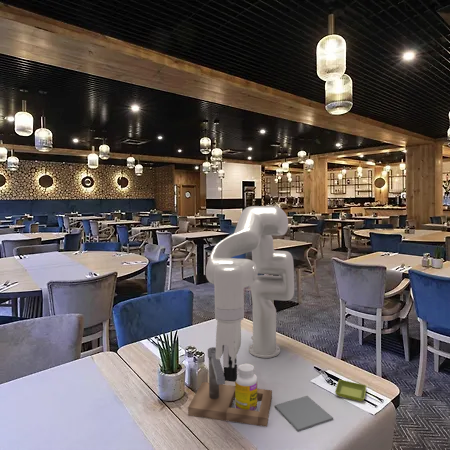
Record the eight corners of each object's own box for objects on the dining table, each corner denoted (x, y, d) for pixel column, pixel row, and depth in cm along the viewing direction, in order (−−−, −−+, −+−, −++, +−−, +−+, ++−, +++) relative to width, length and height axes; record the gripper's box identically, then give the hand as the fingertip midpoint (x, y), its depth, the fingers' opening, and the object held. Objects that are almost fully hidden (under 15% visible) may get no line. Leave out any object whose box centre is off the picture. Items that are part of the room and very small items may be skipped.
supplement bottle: (251, 418, 99) (250, 375, 98) (231, 410, 102) (230, 369, 101) (261, 405, 104) (261, 365, 103) (242, 399, 108) (241, 359, 107)
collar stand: (188, 415, 100) (187, 365, 99) (202, 389, 114) (201, 345, 113) (266, 426, 95) (266, 374, 94) (272, 397, 108) (272, 352, 107)
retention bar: (207, 354, 106) (207, 347, 106) (218, 353, 107) (218, 346, 106) (214, 385, 88) (214, 377, 88) (227, 383, 89) (227, 376, 89)
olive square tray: (338, 384, 116) (338, 379, 116) (366, 391, 112) (366, 385, 112) (334, 398, 108) (334, 392, 108) (364, 405, 105) (364, 399, 104)
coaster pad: (274, 407, 104) (274, 405, 104) (307, 397, 108) (307, 395, 108) (297, 431, 93) (297, 429, 93) (333, 419, 97) (333, 417, 97)
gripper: (222, 302, 97) (223, 364, 99) (207, 321, 82) (208, 394, 84) (248, 303, 95) (249, 367, 97) (238, 323, 81) (239, 398, 82)
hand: (230, 379), depth 90 cm, fingers closed
